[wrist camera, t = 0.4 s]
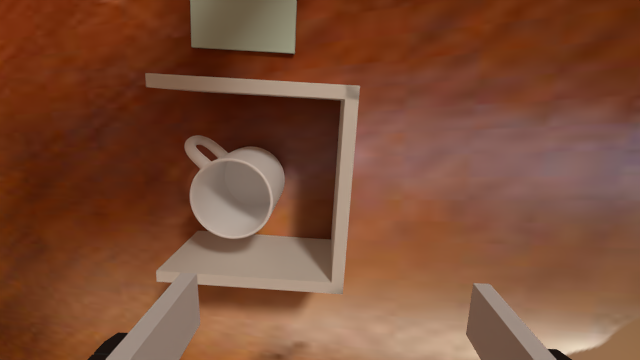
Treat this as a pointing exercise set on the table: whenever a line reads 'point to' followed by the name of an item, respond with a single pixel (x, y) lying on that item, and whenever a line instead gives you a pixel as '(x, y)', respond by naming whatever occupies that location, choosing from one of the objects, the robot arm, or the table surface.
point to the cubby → (265, 250)
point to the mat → (244, 25)
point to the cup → (234, 188)
